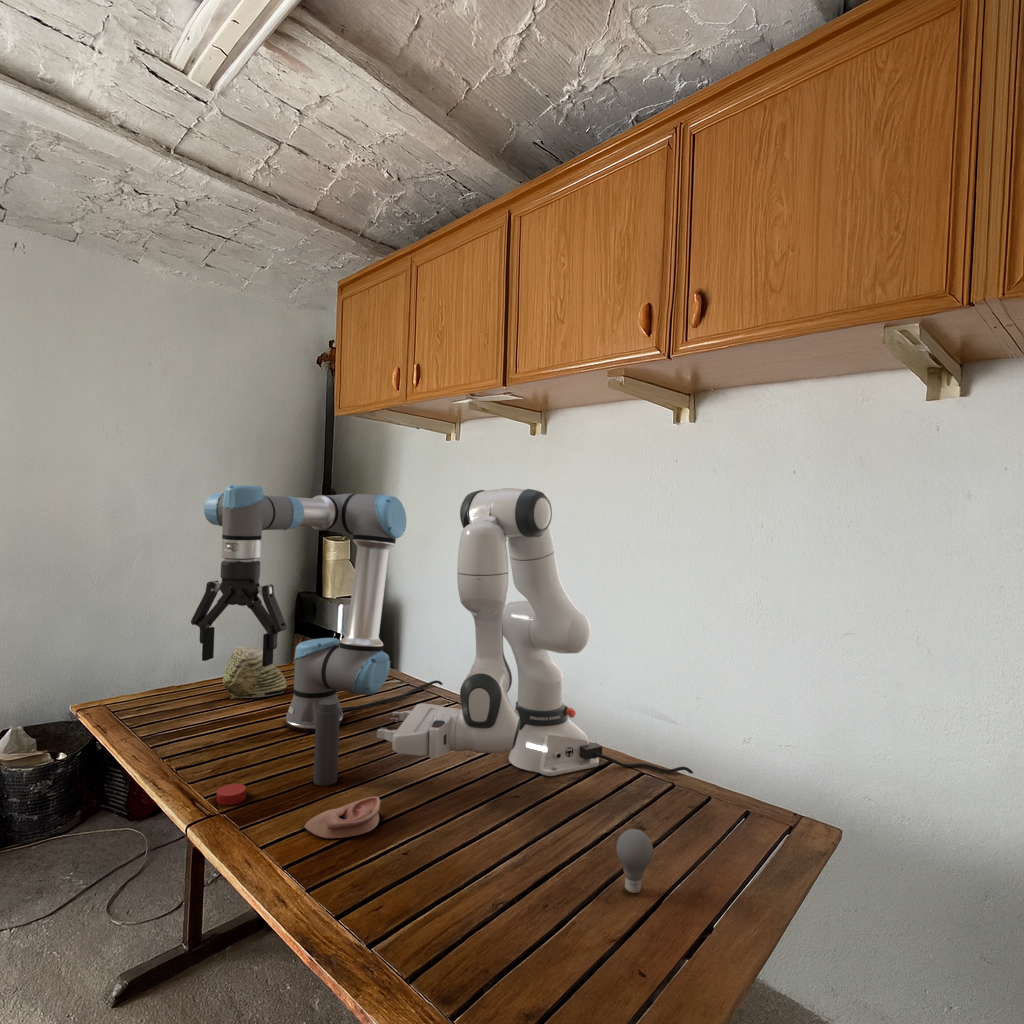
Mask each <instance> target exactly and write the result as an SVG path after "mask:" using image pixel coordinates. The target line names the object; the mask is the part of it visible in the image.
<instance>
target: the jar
mask: <svg viewBox="0 0 1024 1024" xmlns="http://www.w3.org/2000/svg"><path fill="white" fill-rule="evenodd" d="M318 706H319V708H317V709H316V728H315V732H314V758H313V781H312V782H313V783H314V784H315V785H317V786H322V787H323V786H324V787H325V786H331V785H334V784H335V783H337V781H338V773H339V772H338V771H339V749H340V748H339V747H340V746H339V744H340V725H339V723H340V708H339V707H338V701H337V700H334V699H325V700H321V701H320V702H319V704H318Z"/></svg>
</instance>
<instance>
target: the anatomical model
mask: <svg viewBox="0 0 1024 1024" xmlns="http://www.w3.org/2000/svg"><path fill="white" fill-rule="evenodd" d="M380 808H381V799H380V797H379V796H368V797H364V798H361V799H358V800H356V801H353V802H350V803H348V804H345V805H343V806H341V807H337V808H333V809H328V810H325V811H323V812H320V813H319V814H317V815H315V816H313V817H312V818H310V819H309V820H308V821H306V822H305V824H304V828H305V830H306V831H307V832H310V833H311V834H312V835H315V836H317V837H319V838H321V839H322V838H323V839H341V838H342V839H343V838H350V837H355V836H359V835H364V834H365V833H366V834H367V833H369V832H371V831H373V830H374V829H375V828H376V827H377V826H378V825H379V822H380V815H379V811H380Z"/></svg>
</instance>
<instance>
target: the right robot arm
mask: <svg viewBox="0 0 1024 1024" xmlns="http://www.w3.org/2000/svg"><path fill="white" fill-rule="evenodd" d="M552 515H553V509H552V504H551V502H550V499H549V498H548V497H547V495H545V493H544V492H542V491H541V490H537V489H533V488H526V489H521V488H513V487H511V488H509V487H503V488H498V489H497V488H495V489H487V490H485V489H480V490H475V491H472V492H470V493H468V494H467V495H466V496H464V498H463V501H462V502H461V505H460V508H459V519H460V524H461V526H462V531H461V535H460V538H459V544H458V550H457V552H458V553H457V562H456V563H457V566H456V567H457V569H456V571H457V572H456V573H457V574H456V576H457V577H456V578H457V580H456V581H457V582H456V583H457V591H458V596H459V599H460V603H461V605H462V606H463V607H464V608H465V609H466V611H468V612H469V613H470V614H471V616H472V618H473V621H474V631H475V659H474V661H473V664H472V666H471V668H470V670H469V672H468V674H467V676H466V677H465V678H464V679H463V682H462V684H461V686H460V689H459V698H460V707H461V708H456V707H445V706H444V705H439V704H432V703H423V702H421V703H417V704H416V705H415V706H414V707H413V709H412V710H404V711H393V712H391V714H390V716H389V717H390V719H389V720H390V722H391V723H393V722H394V723H399V722H402V723H401V724H399V725H400V726H399V727H398V728H397V729H392V730H390V729H388V728H387V727H379V728H378V729H377V730H376V738H377V739H383V740H385V741H387V742H390V743H391V748H392V751H393V752H395V753H397V754H400V755H406V756H415V757H416V756H417V757H423V756H427V755H428V758H429V759H432V760H437V759H440V758H441V757H442V756H445V754H448V753H450V752H463V751H472V752H474V753H477V754H504V753H505V754H506V753H509V754H508V757H507V758H508V762H509V763H510V764H511V765H512V766H514V767H516V768H518V769H521V770H525V771H528V772H533V773H538V774H540V775H544V776H547V777H554V776H558V775H564V774H569V773H573V772H578V771H582V770H588V769H593V768H597V767H599V765H600V758H602V759H604V760H607V761H609V762H611V763H614V764H616V765H617V766H621V767H622V768H623V767H624V768H637V767H639V768H640V767H641V768H643V767H644V768H649V769H652V770H655V771H658V772H661V773H666V774H667V773H669V774H672V773H677V772H679V771H686V772H688V773H689V774H694V772H693V770H692V769H691V768H689V767H687V766H678V767H675V768H663V767H659V766H656V765H653V764H650V763H646V762H645V763H644V762H637V763H636V762H635V763H625V762H621V761H618V760H617V759H615V758H613V757H610V756H607V755H605V754H603V746H602V745H601V744H600V743H597V742H592V743H590V741H589V737H588V735H587V734H586V733H585V732H584V730H582V729H581V728H580V727H579V726H578V725H576V724H575V723H574V722H573V721H572V720H570V718H571V719H573V718H575V716H576V714H577V713H576V711H575V709H573V708H572V707H569V706H568V705H566V704H564V703H563V686H564V675H563V673H562V670H561V669H560V668H559V666H558V665H557V664H556V663H555V662H554V660H553V659H552V657H551V655H550V652H552V653H556V654H567V655H568V654H569V655H570V654H580V653H581V652H582V651H583V650H584V649H586V647H587V646H588V644H589V642H590V639H591V636H592V635H591V633H592V629H591V623H590V621H589V619H588V617H587V616H586V615H585V614H584V613H582V612H581V611H580V610H579V609H578V607H576V605H575V604H574V603H573V602H572V600H571V598H570V596H569V595H568V593H567V592H566V590H565V588H564V586H563V583H562V580H561V578H560V573H559V568H558V567H559V566H558V562H557V557H556V556H557V555H556V548H555V543H554V542H555V541H554V538H553V533H552V530H551V529H552V528H551V526H550V525H551V522H552V519H553V518H552V517H553V516H552ZM507 545H508V546H507ZM508 555H509V557H508ZM509 562H510V569H511V575H512V581H513V584H514V587H515V589H516V590H517V592H519V593H520V594H521V595H522V596H523V597H524V598H525V599H526V600H516V601H509V602H507V603H506V601H507V595H508V587H509ZM504 639H505V640H506V642H507V644H508V646H509V647H510V649H511V652H512V655H513V658H514V661H515V664H516V671H517V700H516V702H515V709H514V707H513V706H512V703H511V700H510V699H509V696H508V693H509V691H510V689H511V687H512V683H513V675H512V671H511V668H510V666H509V664H508V662H507V659H506V656H505V653H504Z"/></svg>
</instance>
